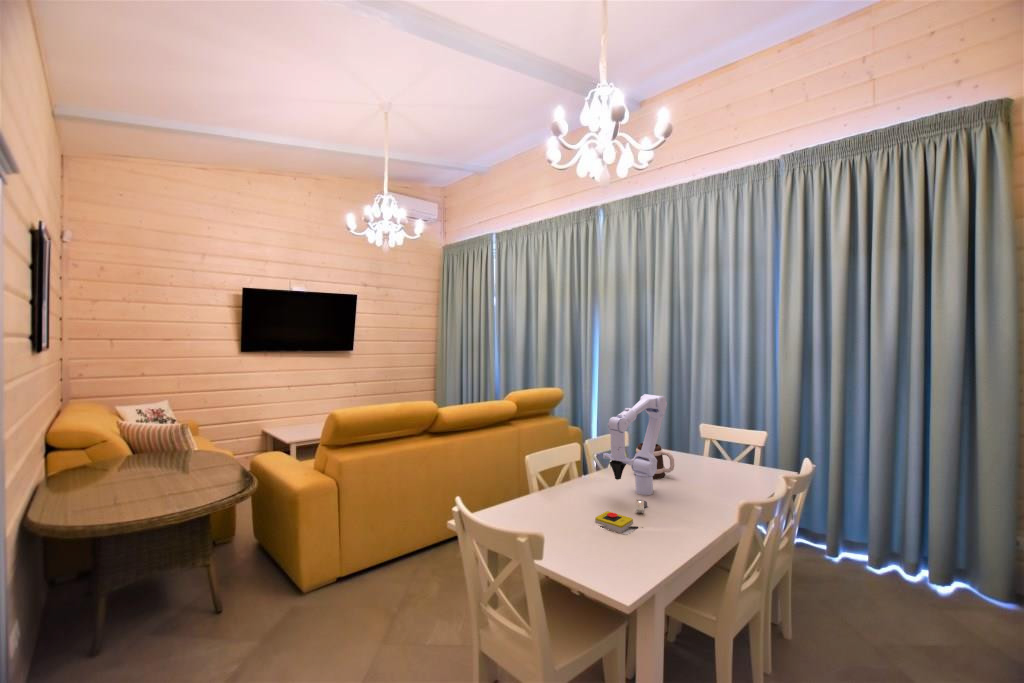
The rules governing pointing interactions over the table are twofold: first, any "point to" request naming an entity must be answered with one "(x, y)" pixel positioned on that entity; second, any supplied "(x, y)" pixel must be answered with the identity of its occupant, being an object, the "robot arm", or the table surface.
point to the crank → (640, 506)
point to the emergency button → (616, 522)
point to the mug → (660, 461)
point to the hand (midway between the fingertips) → (618, 478)
